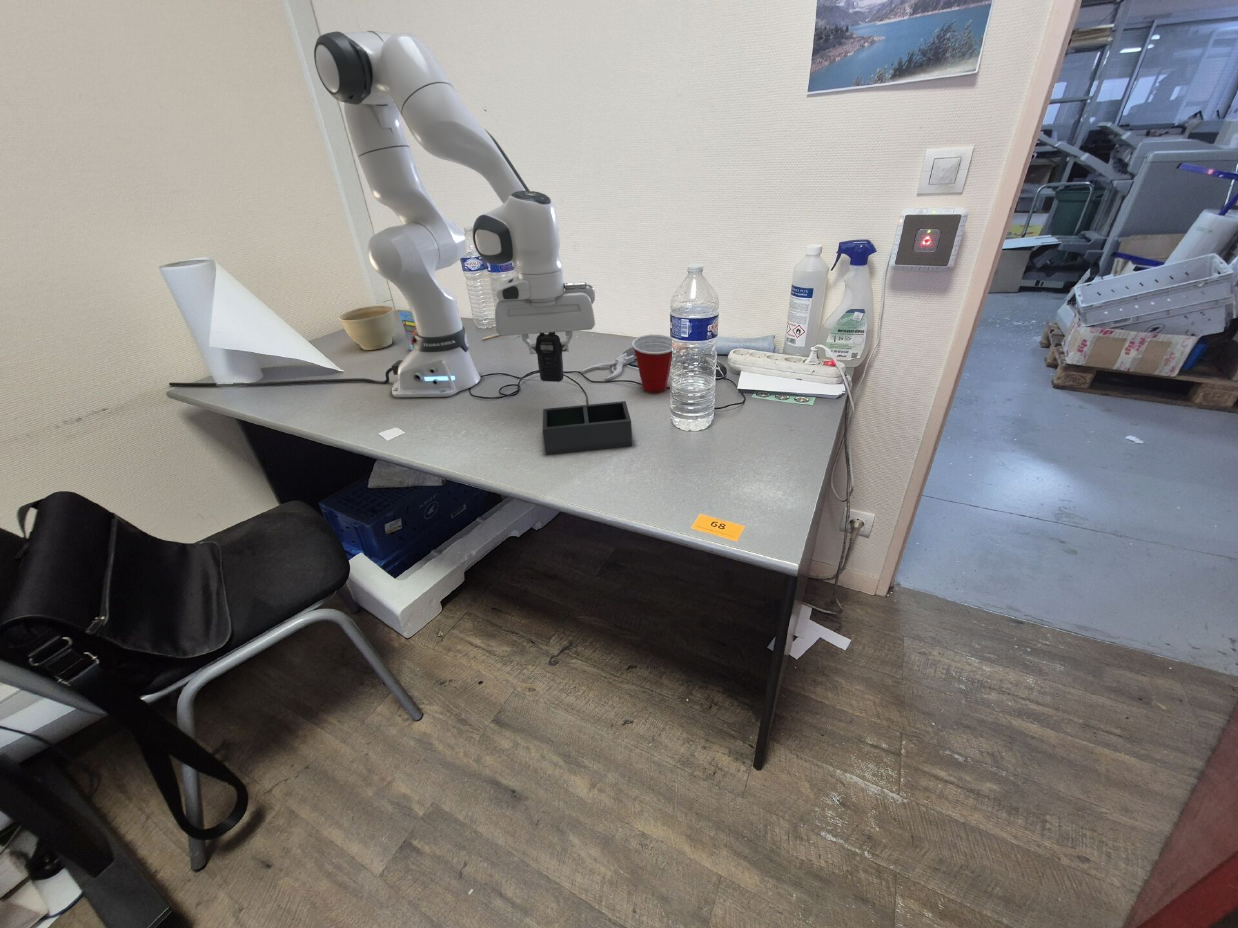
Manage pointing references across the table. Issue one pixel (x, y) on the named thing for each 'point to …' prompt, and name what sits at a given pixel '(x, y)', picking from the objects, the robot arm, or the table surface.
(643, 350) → the plastic cup
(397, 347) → the table surface
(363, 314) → the planter bowl
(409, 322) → the tape cartridge
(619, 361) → the pliers
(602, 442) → the box
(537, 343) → the two-way radio
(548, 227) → the robot arm
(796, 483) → the table surface
